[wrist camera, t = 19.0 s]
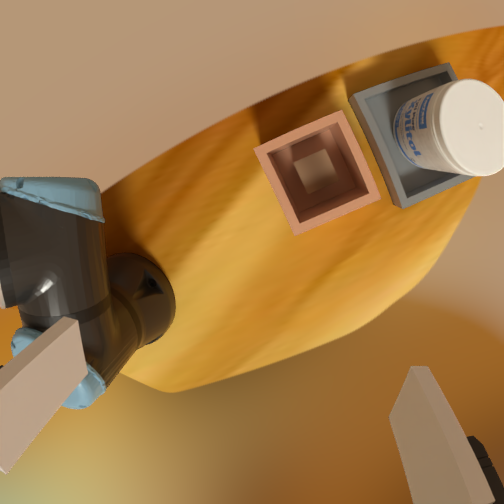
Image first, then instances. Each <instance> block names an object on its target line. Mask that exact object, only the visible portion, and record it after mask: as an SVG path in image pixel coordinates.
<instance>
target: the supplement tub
mask: <svg viewBox="0 0 504 504" xmlns="http://www.w3.org/2000/svg"><path fill="white" fill-rule="evenodd" d="M393 134H394V139H395V142H396V144H397V147H398V148H399V150H400V152H401V153H402V155H403V156H404V157H405V158H406V159H407V160H408V161H409V162H411V163H412V164H414V165H415V166H417V167H420V168H424V169H430V170H437V171H444V172H450V173H457V174H463V175H470V176H488V175H492V174H495V173H497V172H498V171H500V170H501V169H502V168H503V167H504V101H503V100H502V98H501V97H500V96H499V95H498V93H497V92H496V91H495V90H493V89H492V88H491V87H490V86H488V85H487V84H485V83H483V82H481V81H478V80H475V79H462V80H456V81H452V82H449V83H446V84H444V85H442V86H439V87H437V88H435V89H432V90H430V91H428V92H426V93H423V94H421V95H419V96H417V97H415V98H412V99H410V100H408V101H407V102H405V103H404V104H403V105H402V106H401V107H400V108H399V109H398V111H397V113H396V115H395V118H394V123H393Z"/></svg>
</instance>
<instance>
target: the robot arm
mask: <svg viewBox="0 0 504 504" xmlns="http://www.w3.org/2000/svg"><path fill="white" fill-rule="evenodd" d="M104 223H105V218H104V217H103V212H102V204H101V193H100V189H99V187H98V185H97V184H96V183H95V182H94V181H92V180H90V179H87V178H69V177H4V178H2V179H1V180H0V307H1V308H2V309H6V308H9V307H13V306H16V305H18V309H19V313H20V317H21V320H22V325H23V327H22V328H19V329H18V330H16V332H15V335H14V336H13V338H12V342H11V349H12V353H13V356H14V358H13V359H12V360H10V361H9V362H8V363H7V364H6V365H5V366H3V365H1V366H0V470H1V471H2V472H3V473H5V474H7V473H8V472H9V471H10V469H11V468H12V467H13V465H14V464H15V463H16V462H17V460H18V459H19V458H20V456H21V455H22V454H23V452H24V451H25V450H26V449H27V447H28V446H29V445H30V443H31V442H32V441H33V440H34V438H35V437H36V436H37V435H38V433H39V432H40V431H41V430H42V428H43V427H44V426H45V425H46V423H47V422H48V421H49V420H50V418H51V417H52V416H53V415H54V414H55V412H56V411H57V410H58V409H59V407H60V406H64V407H67V408H71V409H83V408H86V407H88V406H90V405H91V404H92V403H93V402H94V401H95V400H96V399H97V398H98V397H99V396H100V395H102V394H104V392H105V391H106V388H107V387H108V386H109V385H110V383H111V382H112V381H113V379H114V378H115V377H116V375H117V374H118V373H119V372H120V370H121V369H122V368H123V366H124V365H125V364H126V363H127V361H128V360H129V359H130V357H131V356H132V355H133V354H134V352H135V351H136V350H137V349H139V348H141V347H143V346H144V345H148V344H151V343H153V342H155V341H157V340H158V339H159V338H161V337H162V336H163V335H164V334H165V332H166V331H167V330H168V328H169V327H170V325H171V324H172V322H173V319H174V316H175V308H176V306H175V297H174V293H173V290H172V288H171V285H170V283H169V281H168V280H167V278H166V277H165V275H164V274H163V273H162V272H161V270H160V269H159V268H158V267H157V266H156V265H154V264H153V263H152V262H150V261H149V260H147V259H146V258H144V257H142V256H139V255H136V254H132V253H118V254H115V255H112V256H110V257H108V258H107V257H106V246H105V233H104ZM389 420H390V423H391V427H392V430H393V433H394V436H395V439H396V443H397V446H398V449H399V453H400V456H401V459H402V463H403V466H404V470H405V473H406V477H407V480H408V484H409V488H410V492H411V496H412V500H413V503H414V504H504V487H503V485H502V483H501V480H500V478H499V476H498V474H497V472H496V470H495V468H494V467H493V466H492V462H491V460H490V458H488V454H487V452H486V450H485V448H484V446H483V444H482V443H480V442H479V441H478V440H477V439H476V438H475V437H474V436H469V437H466V436H465V434H464V432H463V430H462V428H461V426H460V424H459V422H458V420H457V418H456V416H455V415H454V413H453V411H452V409H451V407H450V405H449V403H448V402H447V400H446V398H445V396H444V394H443V392H442V391H441V389H440V387H439V385H438V384H437V382H436V380H435V378H434V377H433V375H432V373H431V371H430V370H429V368H428V366H411V367H410V370H409V372H408V375H407V377H406V380H405V382H404V384H403V386H402V389H401V391H400V393H399V396H398V398H397V400H396V402H395V404H394V407H393V409H392V411H391V413H390V415H389Z"/></svg>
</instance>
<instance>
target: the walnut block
mask: <svg viewBox="0 0 504 504" xmlns="http://www.w3.org/2000/svg"><path fill="white" fill-rule="evenodd" d="M294 165H295V168H296V170H297V172H298V174H299V176H300V178H301V180H302V182H303V185H304V187H305V189H306V191H307V193H308V194H310V193H313V192H315V191H317V190H319V189H322V188H324V187H326V186H329V185H331V184H333V183H335V182H338V181H340V180H339V178H338V176H337V174H336V171H335V169H334V167H333V165H332V163H331V160H330V158H329V156H328V154H327V152H326V150H325V149H323V150H321V151H318V152H316V153H314V154H312V155H309V156H307V157H305V158H303V159H300V160H298V161H296V162H294Z"/></svg>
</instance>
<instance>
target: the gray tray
mask: <svg viewBox="0 0 504 504" xmlns="http://www.w3.org/2000/svg"><path fill="white" fill-rule="evenodd" d="M456 80H458V79H457V77H456V75H455V73H454V71H453V69H452V67H451V65H450V63H445V64H441V65H438V66H435V67H431V68H428V69H425V70H421V71H418V72H415V73H412V74H409V75H406V76H403V77H400V78H397V79H394V80H391V81H388V82H385V83H382V84H379V85H376V86H374V87H371V88H368V89H365V90H363V91H360V92H357V93H355V94H353V95H352V96H351V97H350V98H349V100H348V101H349V103H350V105H351V107H352V109H353V111H354V113H355V115H356V117H357V119H358V121H359V124H360V126H361V128H362V130H363V132H364V134H365V136H366V139H367V141H368V143H369V145H370V147H371V150H372V152H373V154H374V157H375V159H376V161H377V164H378V166H379V168H380V171H381V173H382V176H383V178H384V181H385V183H386V186H387V188H388V191H389V194H390V196H391V199H392V202H393V204H394V205H395V206H398V207H400V208H402V209H404V208H406V207H409V206H411V205H413V204H415V203H418V202H420V201H422V200H424V199H427V198H429V197H431V196H433V195H435V194H438V193H440V192H442V191H444V190H446V189H449V188H451V187H453V186H455V185H457V184H460V183H462V182H464V181H466V180H468V179H471V178H473V177H475V176H470V175H463V174H457V173H450V172H444V171H437V170H430V169H424V168H420V167H417V166H415V165H414V164H412V163H411V162H409V161H408V160H407V159H406V158H405V157H404V156H403V155H402V153H401V152H400V150H399V148H398V147H397V144H396V142H395V139H394V134H393V123H394V118H395V115H396V113H397V111H398V109H399V108H400V107H401V106H402V105H403V104H404V103H405V102H407V101H408V100H410V99H412V98H415V97H417V96H419V95H421V94H423V93H426V92H428V91H430V90H432V89H435V88H437V87H439V86H442V85H444V84H446V83H449V82H452V81H456Z"/></svg>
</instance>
